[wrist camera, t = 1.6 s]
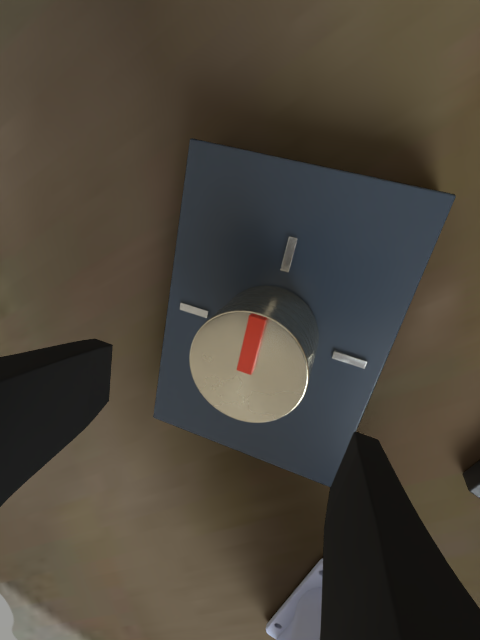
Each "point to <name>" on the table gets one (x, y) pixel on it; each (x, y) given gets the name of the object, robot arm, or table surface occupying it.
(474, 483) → the button block
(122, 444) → the table surface
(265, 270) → the console
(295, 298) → the dial
